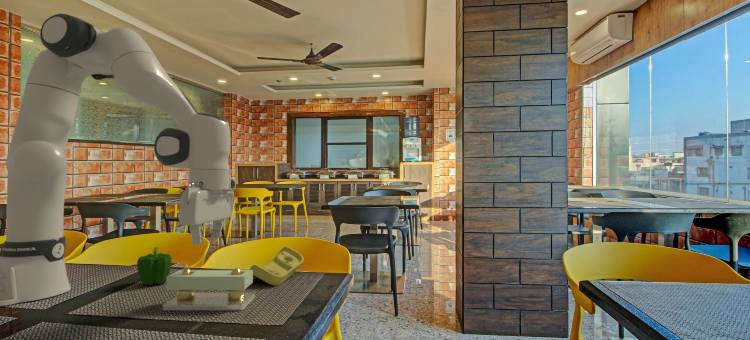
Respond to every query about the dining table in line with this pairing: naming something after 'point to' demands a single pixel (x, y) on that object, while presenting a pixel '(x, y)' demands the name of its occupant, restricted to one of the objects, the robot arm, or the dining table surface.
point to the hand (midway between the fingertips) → (207, 240)
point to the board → (209, 280)
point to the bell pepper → (154, 267)
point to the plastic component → (279, 267)
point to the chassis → (209, 299)
